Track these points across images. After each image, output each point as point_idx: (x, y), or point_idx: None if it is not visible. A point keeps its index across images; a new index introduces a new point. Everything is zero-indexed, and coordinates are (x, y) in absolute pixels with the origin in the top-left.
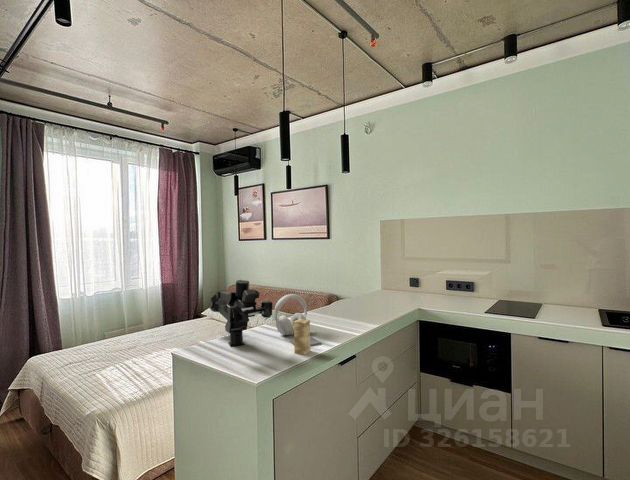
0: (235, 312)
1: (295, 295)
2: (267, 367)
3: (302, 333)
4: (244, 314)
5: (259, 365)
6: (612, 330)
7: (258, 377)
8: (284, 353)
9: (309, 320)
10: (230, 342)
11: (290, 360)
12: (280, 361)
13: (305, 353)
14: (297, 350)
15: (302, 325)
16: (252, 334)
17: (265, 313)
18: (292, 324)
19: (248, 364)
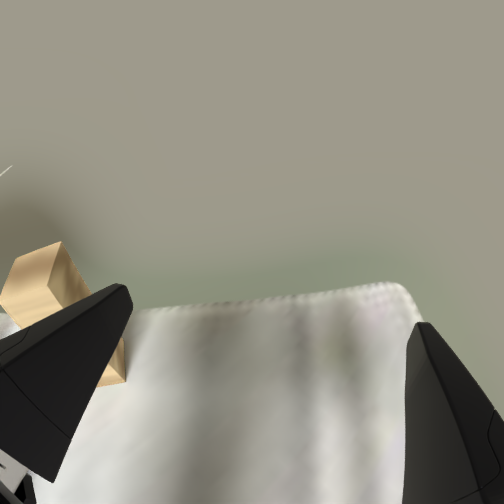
0: None
1: None
2: (312, 352)
3: (83, 291)
4: (468, 414)
5: (324, 391)
6: (8, 168)
7: (381, 305)
8: (146, 414)
9: (19, 259)
10: None
11: (200, 342)
12: (232, 363)
13: (121, 338)
14: (119, 362)
15: (65, 260)
16: None
17: (47, 401)
18: None
19: (354, 433)
